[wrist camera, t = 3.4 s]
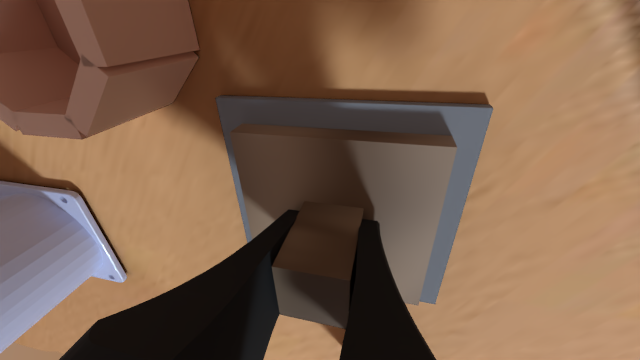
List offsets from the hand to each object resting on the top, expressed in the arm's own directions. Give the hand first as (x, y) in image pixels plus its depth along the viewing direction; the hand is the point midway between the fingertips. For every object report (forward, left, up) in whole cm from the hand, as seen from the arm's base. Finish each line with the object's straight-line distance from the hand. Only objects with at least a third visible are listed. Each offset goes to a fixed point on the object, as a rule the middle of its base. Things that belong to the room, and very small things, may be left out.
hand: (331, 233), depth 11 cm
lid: (0, 0, -1) cm, 1 cm away
